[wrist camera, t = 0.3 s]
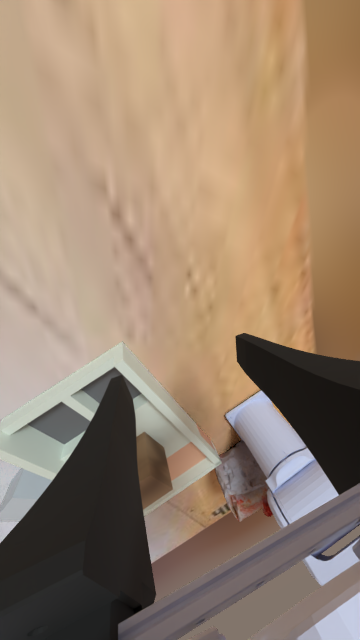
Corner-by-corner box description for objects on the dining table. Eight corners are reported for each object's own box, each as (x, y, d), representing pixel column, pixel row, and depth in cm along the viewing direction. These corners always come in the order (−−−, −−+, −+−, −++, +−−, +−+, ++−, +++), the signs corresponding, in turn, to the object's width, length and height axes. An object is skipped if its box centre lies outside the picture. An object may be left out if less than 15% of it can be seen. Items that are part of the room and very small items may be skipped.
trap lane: (212, 442, 33) (222, 463, 30) (140, 490, 32) (143, 517, 29) (122, 341, 20) (122, 359, 17) (2, 418, 20) (-19, 452, 17)
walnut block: (164, 447, 26) (173, 489, 22) (134, 467, 26) (137, 513, 22) (144, 431, 24) (150, 474, 20) (111, 453, 24) (109, 502, 19)
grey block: (61, 463, 25) (52, 500, 21) (45, 482, 25) (33, 521, 22) (28, 458, 23) (12, 497, 19) (12, 479, 23) (-7, 521, 20)
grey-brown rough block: (215, 474, 38) (243, 543, 29) (207, 454, 34) (237, 527, 26) (272, 443, 40) (314, 500, 31) (270, 421, 36) (317, 479, 27)
